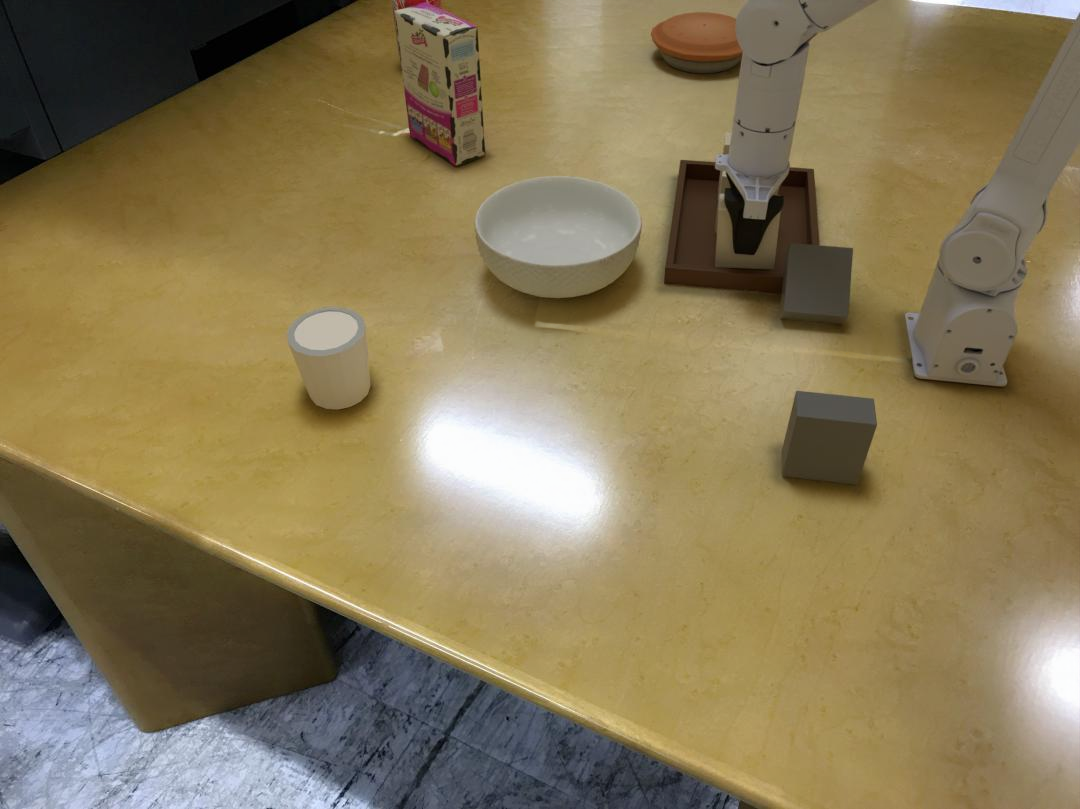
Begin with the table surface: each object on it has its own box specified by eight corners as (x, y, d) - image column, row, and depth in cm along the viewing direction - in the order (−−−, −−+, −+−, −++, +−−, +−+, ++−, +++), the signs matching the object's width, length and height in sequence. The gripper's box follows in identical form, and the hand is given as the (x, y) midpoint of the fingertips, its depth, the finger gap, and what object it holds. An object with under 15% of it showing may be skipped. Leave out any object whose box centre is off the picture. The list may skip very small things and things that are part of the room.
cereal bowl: (499, 336, 88) (495, 277, 83) (464, 245, 100) (459, 188, 95) (661, 305, 91) (666, 246, 86) (609, 220, 103) (611, 164, 98)
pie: (629, 51, 137) (631, 18, 134) (712, 31, 142) (716, -2, 139) (687, 89, 127) (691, 54, 124) (774, 65, 132) (780, 31, 129)
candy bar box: (488, 155, 115) (480, 25, 103) (456, 168, 112) (444, 36, 101) (439, 125, 121) (426, -1, 110) (408, 136, 119) (391, 9, 108)
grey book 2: (857, 485, 73) (877, 424, 68) (782, 476, 74) (796, 416, 69) (854, 458, 75) (874, 398, 70) (781, 450, 76) (796, 390, 71)
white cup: (343, 354, 87) (330, 296, 82) (392, 384, 83) (381, 325, 78) (287, 393, 83) (269, 333, 78) (336, 425, 80) (321, 365, 75)
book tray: (817, 301, 91) (822, 280, 89) (663, 287, 93) (665, 267, 92) (809, 188, 107) (814, 168, 105) (678, 178, 109) (680, 159, 108)
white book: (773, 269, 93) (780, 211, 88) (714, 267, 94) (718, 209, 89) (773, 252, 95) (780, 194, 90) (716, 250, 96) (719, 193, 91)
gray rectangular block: (848, 317, 85) (853, 247, 86) (783, 311, 86) (789, 242, 87) (841, 326, 88) (846, 258, 89) (779, 320, 89) (785, 254, 90)
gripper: (723, 83, 89) (709, 203, 99) (718, 153, 79) (702, 279, 88) (796, 87, 88) (774, 208, 98) (800, 158, 78) (775, 286, 87)
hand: (744, 242), depth 93 cm, fingers closed on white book, 3 cm apart
